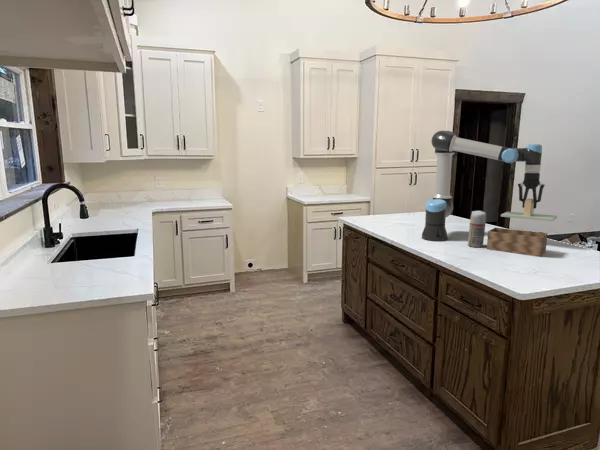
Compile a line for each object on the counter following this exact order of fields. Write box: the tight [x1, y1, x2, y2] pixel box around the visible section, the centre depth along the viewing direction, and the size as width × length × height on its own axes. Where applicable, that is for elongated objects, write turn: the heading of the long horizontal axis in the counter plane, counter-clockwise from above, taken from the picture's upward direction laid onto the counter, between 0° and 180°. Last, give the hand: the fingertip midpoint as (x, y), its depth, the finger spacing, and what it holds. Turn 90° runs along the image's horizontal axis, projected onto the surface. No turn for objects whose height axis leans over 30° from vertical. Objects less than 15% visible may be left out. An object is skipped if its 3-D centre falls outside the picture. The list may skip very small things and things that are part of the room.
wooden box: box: [486, 227, 548, 258], centre depth 221 cm, size 26×12×10 cm, turn 49°
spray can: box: [467, 210, 487, 248], centre depth 231 cm, size 8×8×20 cm
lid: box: [500, 198, 558, 222], centre depth 233 cm, size 26×12×10 cm, turn 49°
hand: (528, 213), depth 234 cm, fingers closed on lid, 3 cm apart
